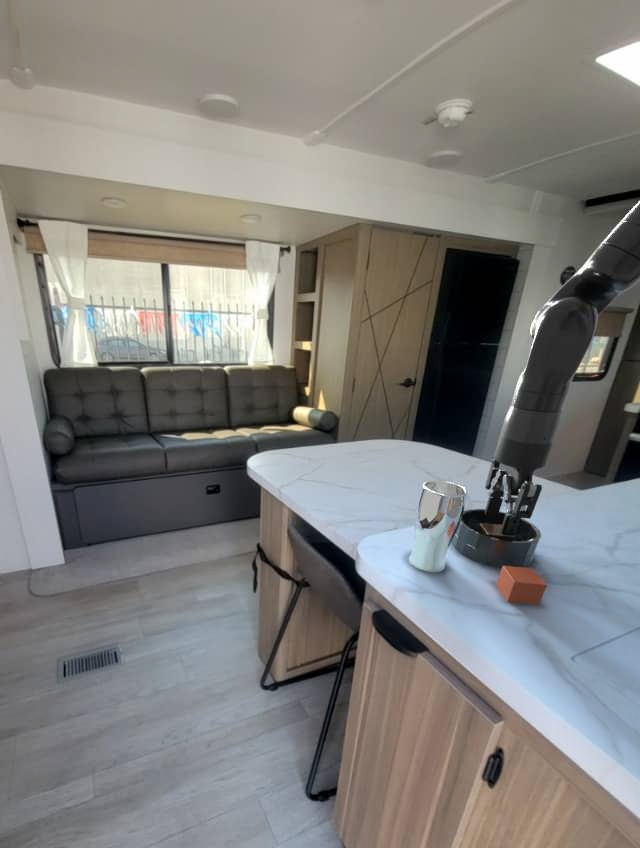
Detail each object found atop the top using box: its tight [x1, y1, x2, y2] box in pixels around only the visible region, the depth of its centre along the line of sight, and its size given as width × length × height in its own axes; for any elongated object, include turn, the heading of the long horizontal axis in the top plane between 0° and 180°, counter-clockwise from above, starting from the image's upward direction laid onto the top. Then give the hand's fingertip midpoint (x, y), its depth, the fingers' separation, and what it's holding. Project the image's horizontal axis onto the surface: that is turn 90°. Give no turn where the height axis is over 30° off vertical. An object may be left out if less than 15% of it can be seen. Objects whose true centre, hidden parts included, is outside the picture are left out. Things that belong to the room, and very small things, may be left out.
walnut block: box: [477, 523, 515, 541], centre depth 75 cm, size 4×4×4 cm
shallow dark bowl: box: [451, 508, 542, 569], centre depth 75 cm, size 13×13×6 cm
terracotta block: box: [495, 566, 548, 606], centre depth 63 cm, size 4×4×4 cm
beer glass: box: [408, 480, 468, 573], centre depth 68 cm, size 7×7×15 cm
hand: (498, 524), depth 73 cm, fingers open, 7 cm apart
